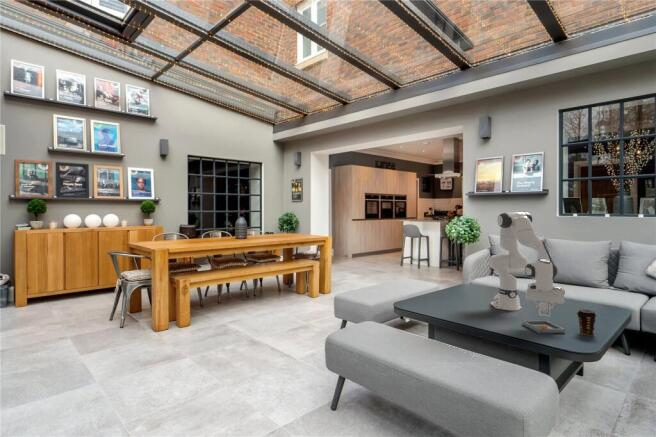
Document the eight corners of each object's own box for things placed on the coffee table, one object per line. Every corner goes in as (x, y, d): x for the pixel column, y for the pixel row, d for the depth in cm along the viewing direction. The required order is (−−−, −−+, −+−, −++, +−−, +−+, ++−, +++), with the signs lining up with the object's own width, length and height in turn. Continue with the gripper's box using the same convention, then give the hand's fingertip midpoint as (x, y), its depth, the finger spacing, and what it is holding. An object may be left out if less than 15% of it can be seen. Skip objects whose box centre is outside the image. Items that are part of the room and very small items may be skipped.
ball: (541, 328, 204) (539, 324, 204) (546, 327, 204) (545, 322, 203) (543, 331, 201) (541, 326, 201) (549, 329, 201) (547, 325, 200)
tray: (522, 325, 213) (522, 320, 213) (546, 324, 214) (546, 320, 214) (538, 333, 197) (538, 329, 197) (564, 333, 198) (564, 329, 198)
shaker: (539, 313, 214) (539, 300, 214) (549, 314, 211) (549, 301, 211) (539, 315, 209) (539, 302, 209) (550, 317, 206) (550, 303, 206)
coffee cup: (588, 331, 201) (588, 308, 201) (600, 336, 193) (600, 312, 193) (574, 331, 201) (573, 309, 201) (585, 336, 192) (585, 313, 192)
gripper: (564, 287, 208) (564, 310, 208) (525, 284, 218) (525, 306, 218) (565, 289, 202) (565, 312, 202) (525, 285, 212) (525, 308, 212)
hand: (544, 309), depth 210 cm, fingers closed on shaker, 5 cm apart
